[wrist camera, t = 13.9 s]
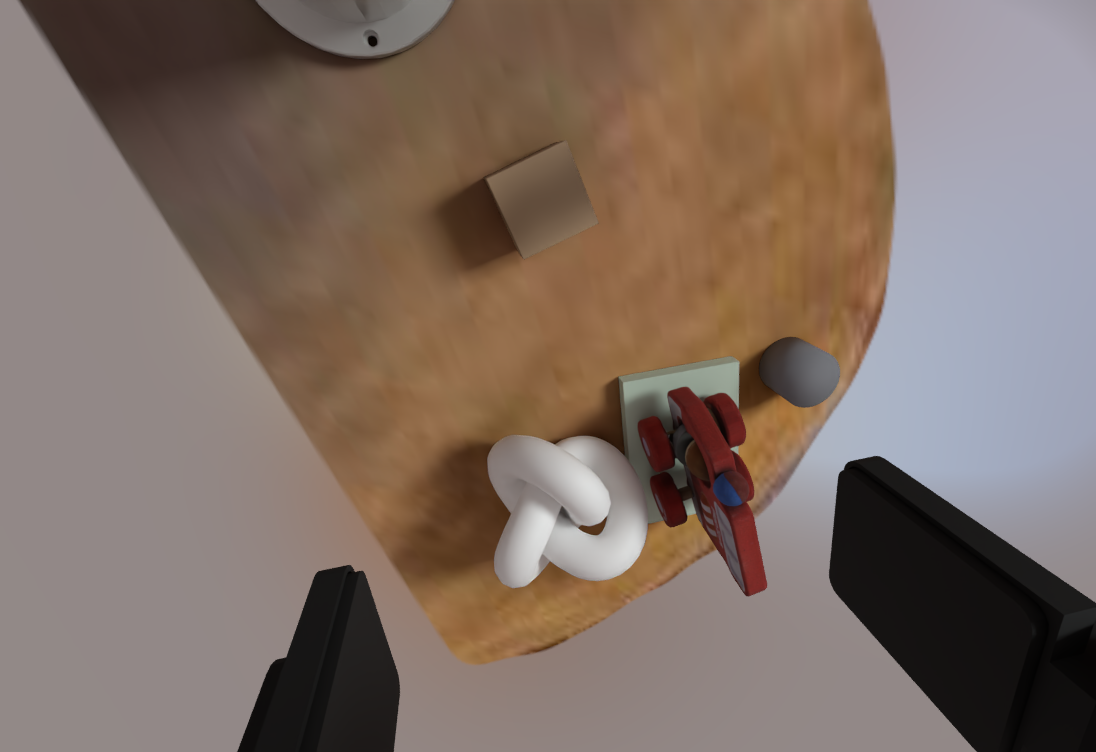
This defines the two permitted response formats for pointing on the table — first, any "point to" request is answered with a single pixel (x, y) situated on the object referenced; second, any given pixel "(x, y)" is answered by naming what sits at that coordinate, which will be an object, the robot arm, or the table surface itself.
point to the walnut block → (542, 199)
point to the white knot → (566, 508)
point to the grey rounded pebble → (799, 371)
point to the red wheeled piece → (707, 478)
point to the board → (649, 399)
